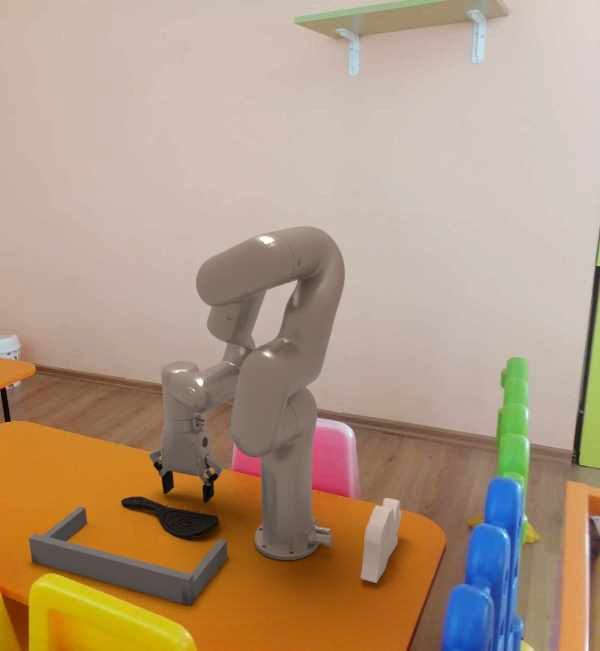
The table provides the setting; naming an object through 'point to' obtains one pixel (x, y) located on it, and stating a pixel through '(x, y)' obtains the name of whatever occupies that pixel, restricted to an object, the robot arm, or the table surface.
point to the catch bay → (122, 563)
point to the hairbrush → (176, 518)
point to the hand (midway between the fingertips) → (188, 495)
